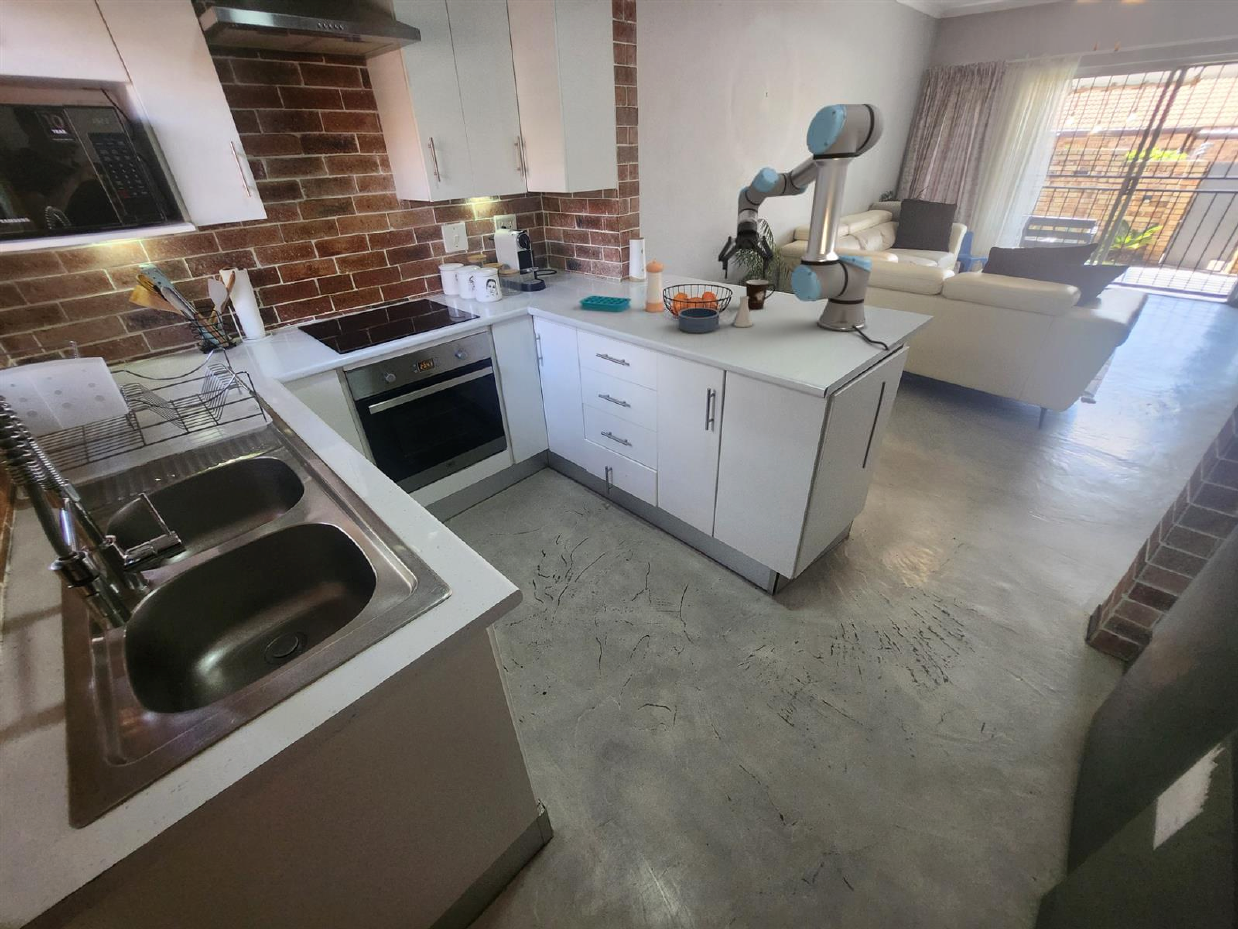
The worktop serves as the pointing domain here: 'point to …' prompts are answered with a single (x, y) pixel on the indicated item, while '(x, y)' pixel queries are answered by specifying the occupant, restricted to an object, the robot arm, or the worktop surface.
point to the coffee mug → (757, 293)
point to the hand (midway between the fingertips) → (744, 276)
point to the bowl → (698, 320)
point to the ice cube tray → (605, 303)
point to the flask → (743, 314)
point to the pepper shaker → (654, 287)
